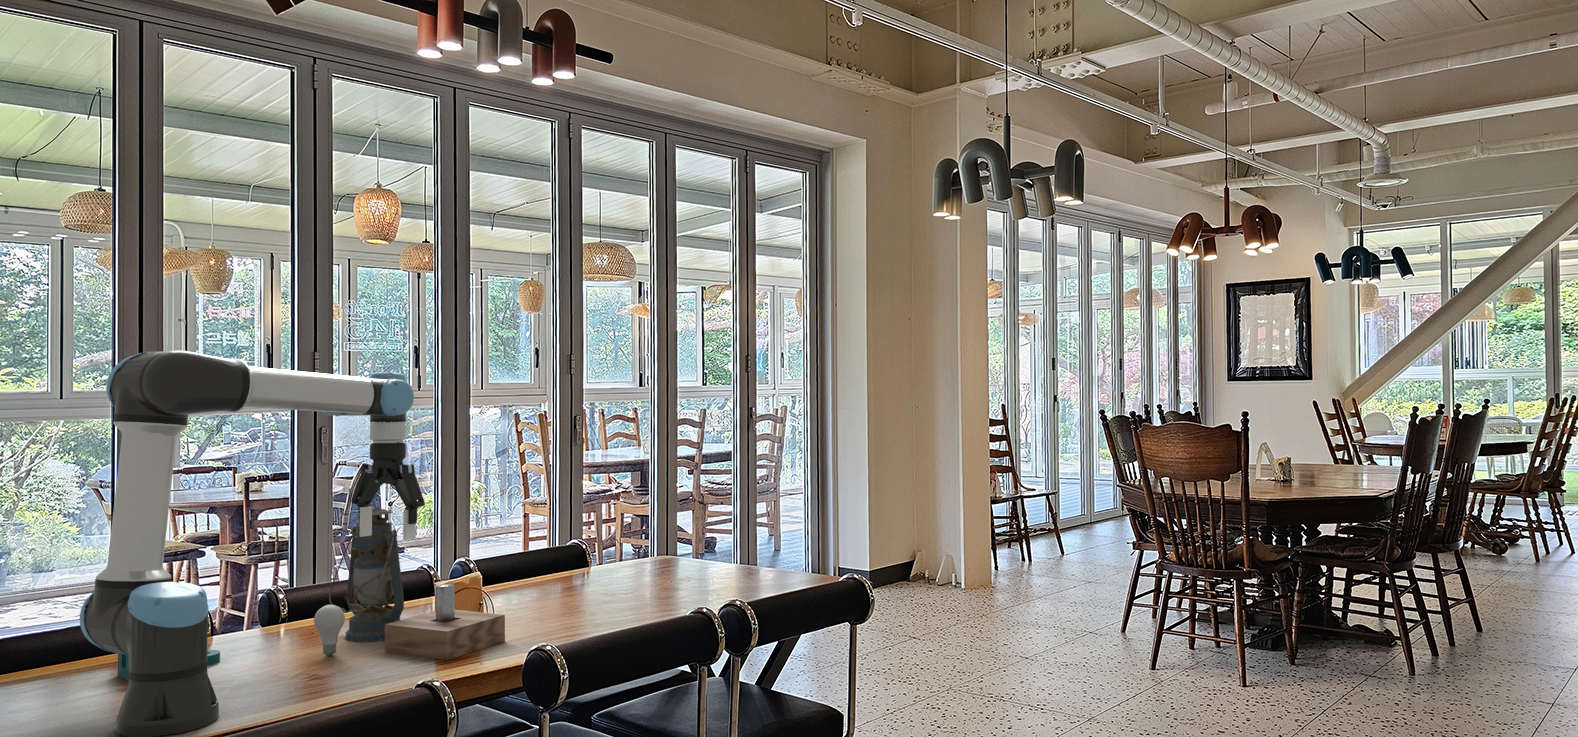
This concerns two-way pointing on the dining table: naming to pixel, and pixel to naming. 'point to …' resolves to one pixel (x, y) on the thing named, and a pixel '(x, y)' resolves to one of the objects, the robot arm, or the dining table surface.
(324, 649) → the lightbulb
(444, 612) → the pin
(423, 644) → the walnut block
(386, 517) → the lantern
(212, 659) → the bracket
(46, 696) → the dining table surface
